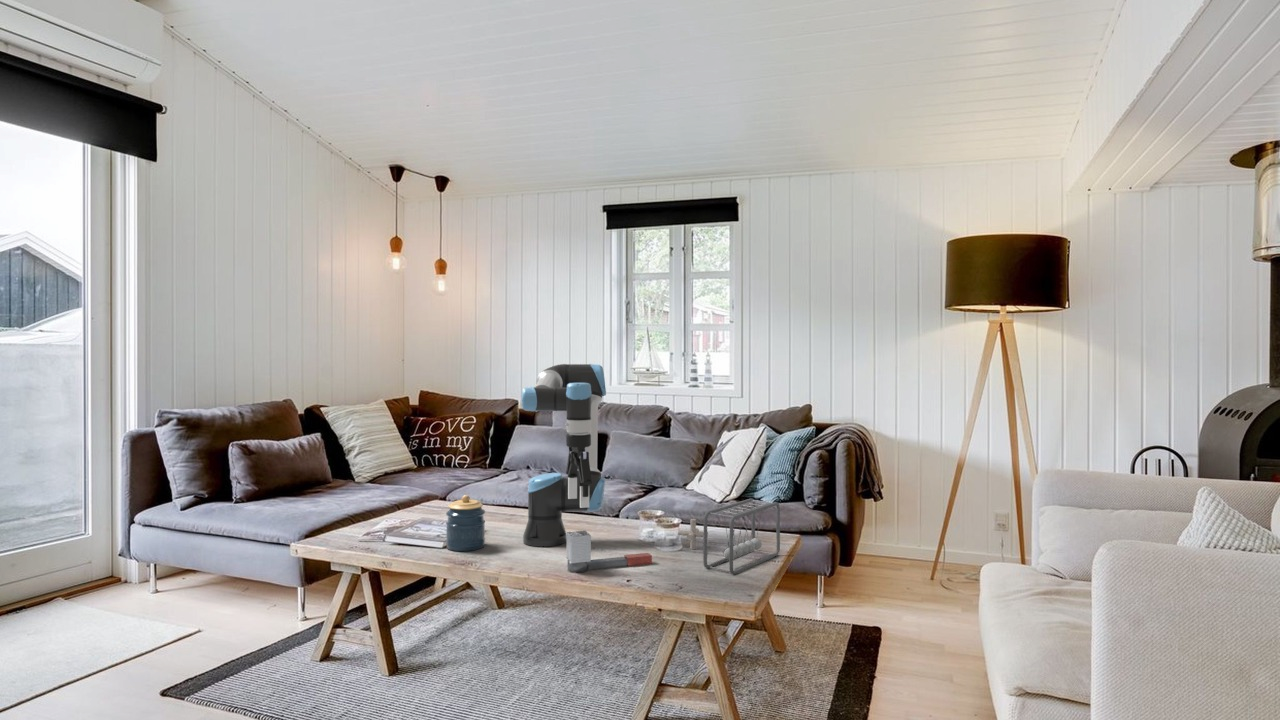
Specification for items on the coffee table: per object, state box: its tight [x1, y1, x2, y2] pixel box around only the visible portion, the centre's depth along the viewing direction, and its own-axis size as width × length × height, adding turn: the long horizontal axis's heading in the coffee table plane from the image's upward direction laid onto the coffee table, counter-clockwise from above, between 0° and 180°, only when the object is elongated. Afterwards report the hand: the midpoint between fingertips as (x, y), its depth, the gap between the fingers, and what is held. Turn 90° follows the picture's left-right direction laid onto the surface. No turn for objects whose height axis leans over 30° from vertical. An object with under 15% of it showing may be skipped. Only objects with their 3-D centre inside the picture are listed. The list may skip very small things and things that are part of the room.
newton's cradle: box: [702, 498, 781, 576], centre depth 233 cm, size 30×10×18 cm, turn 141°
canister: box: [445, 494, 486, 552], centre depth 250 cm, size 13×13×18 cm
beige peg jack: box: [677, 518, 709, 550], centre depth 248 cm, size 10×10×10 cm
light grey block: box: [565, 530, 592, 563], centre depth 224 cm, size 6×6×8 cm
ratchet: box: [567, 552, 653, 574], centre depth 228 cm, size 6×27×8 cm, turn 110°
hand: (578, 503), depth 224 cm, fingers open, 13 cm apart
